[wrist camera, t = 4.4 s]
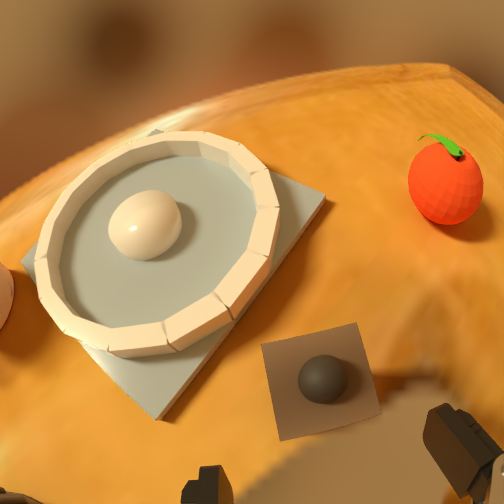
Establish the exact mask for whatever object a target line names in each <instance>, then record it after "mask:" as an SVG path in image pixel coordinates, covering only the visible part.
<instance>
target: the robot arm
mask: <svg viewBox="0 0 504 504" xmlns="http://www.w3.org/2000/svg"><path fill="white" fill-rule="evenodd" d="M423 441H424V444H425V446H426V448H427V450H428V451H429V452H430V454H431V455H432V457H433V458H434V460H435V461H436V463H437V464H438V466H439V467H440V469H441V470H442V472H443V473H444V475H445V476H446V478H447V479H448V481H449V482H450V484H451V486H452V487H453V489H454V490H455V492H456V493H457V495H458V496H459V498H460V499H462V498H463V497H465V496H467V495H468V494H469V495H470V496H471V500H470V504H504V451H503V450H502V449H501V448H500V447H499V446H498V445H497V444H496V442H495V441H494V440H493V439H492V438H491V437H490V436H489V435H488V433H487V432H486V431H485V430H484V429H482V427H481V426H480V425H479V424H478V423H477V421H476V420H475V419H474V418H473V417H472V416H471V415H470V414H469V413H467V412H465V411H463V410H461V409H458V410H456V411H455V410H454V409H453V408H452V407H451V406H450V405H449V404H448V403H444V404H442V405H440V406H438V407H435V408H433V409H431V410H429V412H428V415H427V419H426V424H425V428H424V432H423ZM181 504H234V503H233V492H232V487H231V485H230V482H229V480H228V478H227V476H226V474H225V472H224V470H223V468H222V466H221V465H215V466H202V467H200V470H199V480H189V481H188V482H187V484H186V485H185V487H184V488H183V490H182V495H181Z"/></svg>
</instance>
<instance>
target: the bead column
mask: <svg viewBox="0 0 504 504" xmlns="http://www.w3.org/2000/svg"><path fill="white" fill-rule="evenodd" d="M261 347H262V352H263V358H264V363H265V368H266V373H267V378H268V383H269V388H270V393H271V398H272V403H273V409H274V414H275V419H276V424H277V429H278V434H279V439H280V441H284V440H289V439H294V438H298V437H303V436H307V435H312V434H316V433H320V432H324V431H328V430H331V429H335V428H339V427H342V426H346V425H349V424H352V423H356V422H359V421H362V420H365V419H368V418H371V417H374V416H377V415H380V414H382V413H381V409H380V405H379V401H378V397H377V393H376V389H375V385H374V382H373V378H372V374H371V370H370V367H369V363H368V360H367V356H366V352H365V349H364V346H363V342H362V339H361V335H360V332H359V329H358V325H357V322H356V323H352V324H348V325H344V326H340V327H336V328H332V329H328V330H324V331H320V332H316V333H311V334H307V335H302V336H298V337H293V338H289V339H284V340H279V341H274V342H269V343H264V344H261Z"/></svg>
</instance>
